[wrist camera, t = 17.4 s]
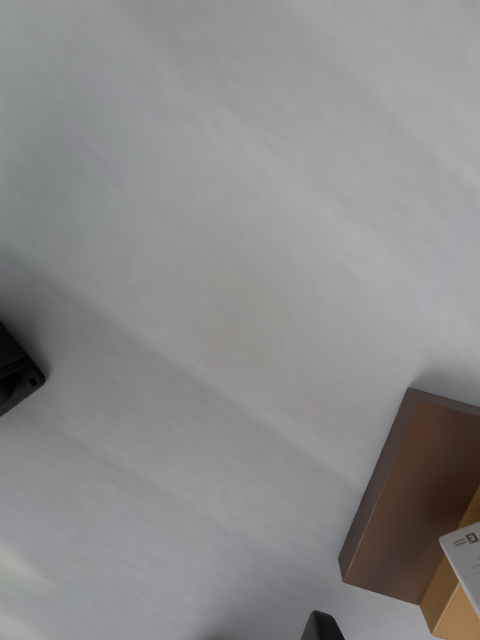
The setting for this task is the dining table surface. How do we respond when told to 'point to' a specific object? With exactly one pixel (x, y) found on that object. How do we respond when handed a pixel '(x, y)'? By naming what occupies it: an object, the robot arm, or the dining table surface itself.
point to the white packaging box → (465, 559)
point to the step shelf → (420, 512)
